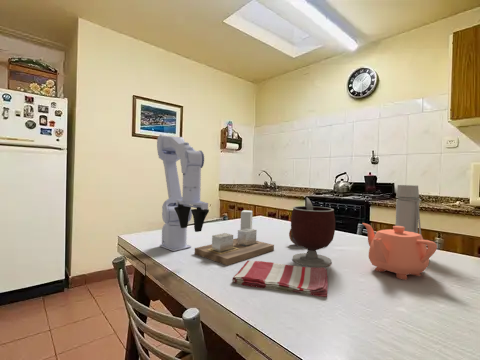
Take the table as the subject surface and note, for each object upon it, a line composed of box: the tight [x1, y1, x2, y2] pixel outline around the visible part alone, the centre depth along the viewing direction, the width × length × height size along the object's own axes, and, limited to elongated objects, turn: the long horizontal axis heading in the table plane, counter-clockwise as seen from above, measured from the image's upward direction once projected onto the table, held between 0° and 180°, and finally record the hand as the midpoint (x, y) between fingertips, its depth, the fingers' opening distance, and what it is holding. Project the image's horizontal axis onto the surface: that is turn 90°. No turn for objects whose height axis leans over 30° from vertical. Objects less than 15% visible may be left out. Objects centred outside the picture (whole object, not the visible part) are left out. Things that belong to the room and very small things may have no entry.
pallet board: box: [194, 237, 275, 266], centre depth 94 cm, size 16×24×2 cm, turn 137°
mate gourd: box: [290, 197, 336, 268], centre depth 87 cm, size 16×14×20 cm
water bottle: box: [395, 184, 422, 235], centre depth 98 cm, size 9×8×25 cm
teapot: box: [361, 222, 438, 281], centre depth 78 cm, size 16×17×14 cm
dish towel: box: [231, 260, 329, 298], centre depth 71 cm, size 17×23×3 cm
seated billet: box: [237, 228, 258, 247], centre depth 99 cm, size 4×6×7 cm, turn 137°
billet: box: [211, 232, 234, 253], centre depth 90 cm, size 4×6×7 cm, turn 137°
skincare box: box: [240, 209, 253, 230], centre depth 115 cm, size 6×4×12 cm
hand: (190, 229), depth 86 cm, fingers open, 7 cm apart
